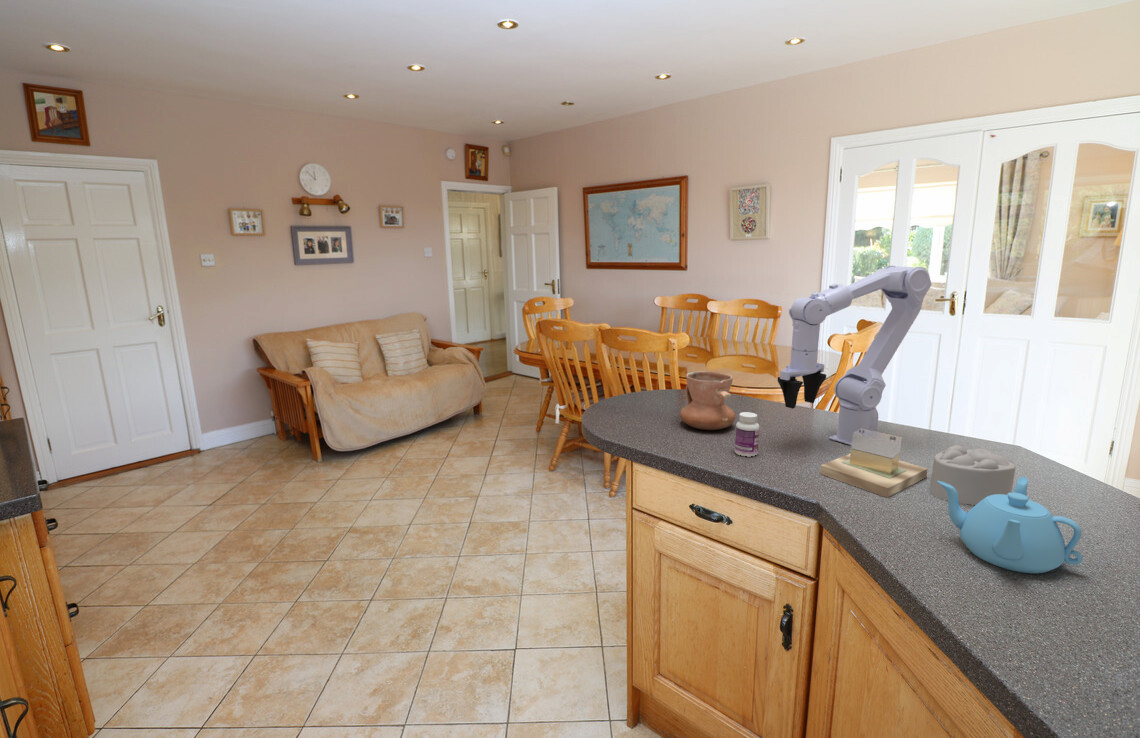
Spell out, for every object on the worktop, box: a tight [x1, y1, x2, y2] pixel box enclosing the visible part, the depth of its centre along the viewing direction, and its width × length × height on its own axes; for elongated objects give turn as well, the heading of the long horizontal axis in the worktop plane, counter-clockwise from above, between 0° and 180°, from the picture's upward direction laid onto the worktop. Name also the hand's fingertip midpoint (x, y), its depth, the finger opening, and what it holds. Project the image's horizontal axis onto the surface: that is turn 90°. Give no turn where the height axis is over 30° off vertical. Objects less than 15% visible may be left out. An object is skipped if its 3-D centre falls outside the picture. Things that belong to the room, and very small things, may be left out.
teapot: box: [937, 476, 1084, 575], centre depth 85 cm, size 15×15×10 cm
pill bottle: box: [734, 411, 760, 458], centre depth 129 cm, size 5×5×10 cm
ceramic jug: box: [680, 370, 736, 431], centre depth 149 cm, size 18×14×14 cm
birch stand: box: [819, 452, 928, 499], centre depth 116 cm, size 16×14×2 cm
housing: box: [849, 428, 903, 475], centre depth 115 cm, size 8×4×7 cm, turn 43°
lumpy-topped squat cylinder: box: [929, 444, 1016, 506], centre depth 106 cm, size 10×13×9 cm
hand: (799, 404), depth 132 cm, fingers open, 7 cm apart
